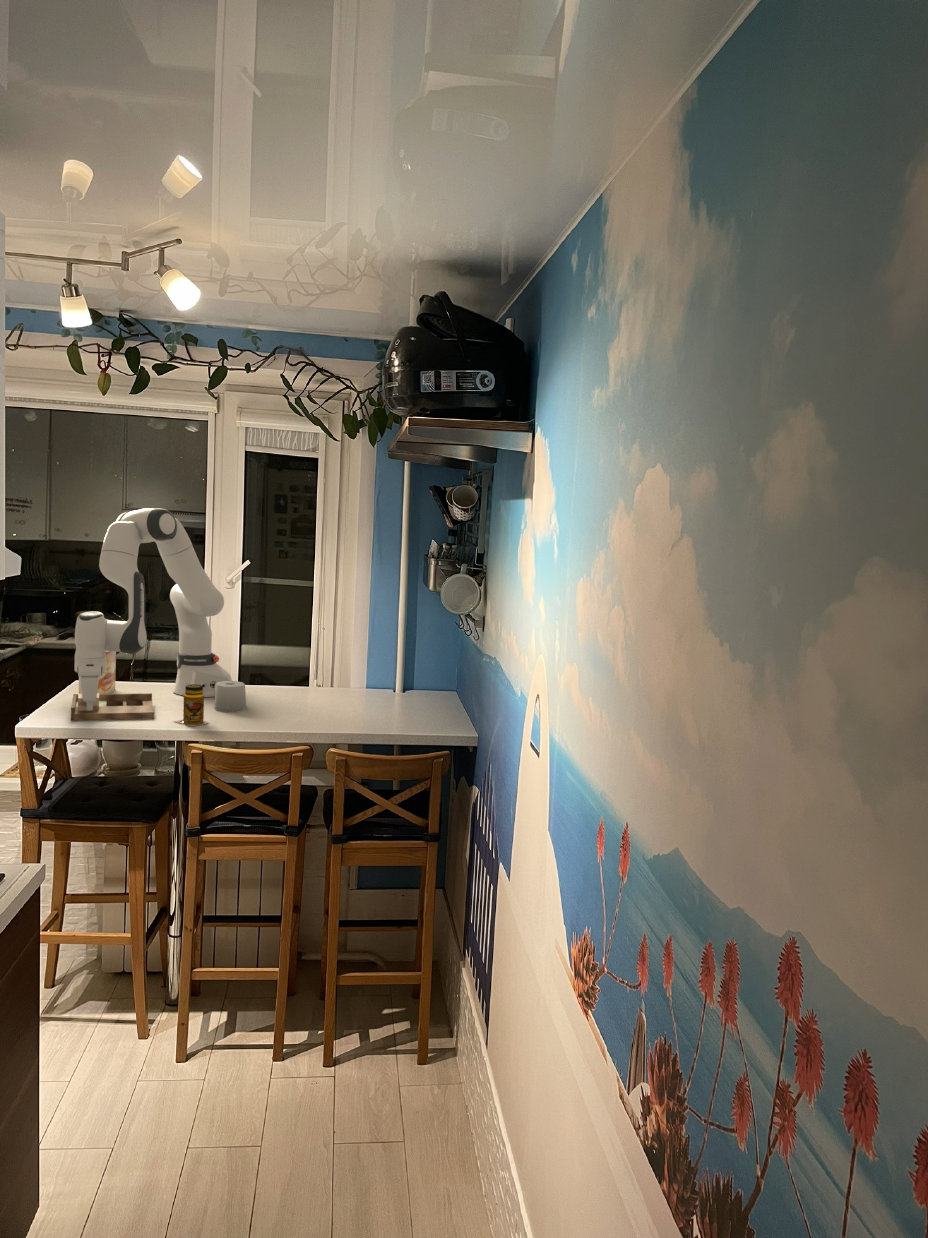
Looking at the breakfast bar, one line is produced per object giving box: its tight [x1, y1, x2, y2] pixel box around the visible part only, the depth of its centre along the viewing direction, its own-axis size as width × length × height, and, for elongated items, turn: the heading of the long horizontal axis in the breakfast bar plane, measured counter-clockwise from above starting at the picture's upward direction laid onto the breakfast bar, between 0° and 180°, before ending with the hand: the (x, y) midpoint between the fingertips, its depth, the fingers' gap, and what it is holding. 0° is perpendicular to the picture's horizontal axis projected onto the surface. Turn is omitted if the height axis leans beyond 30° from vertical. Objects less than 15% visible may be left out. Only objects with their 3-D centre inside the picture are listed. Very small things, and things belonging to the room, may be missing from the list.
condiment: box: [173, 684, 210, 728], centre depth 284 cm, size 7×8×12 cm
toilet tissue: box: [214, 680, 247, 713], centre depth 306 cm, size 9×13×9 cm
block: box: [78, 693, 99, 711], centre depth 285 cm, size 6×6×4 cm
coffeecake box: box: [78, 650, 117, 694], centre depth 312 cm, size 15×7×20 cm, turn 179°
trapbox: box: [70, 692, 155, 721], centre depth 290 cm, size 24×18×4 cm
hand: (89, 709), depth 281 cm, fingers closed
